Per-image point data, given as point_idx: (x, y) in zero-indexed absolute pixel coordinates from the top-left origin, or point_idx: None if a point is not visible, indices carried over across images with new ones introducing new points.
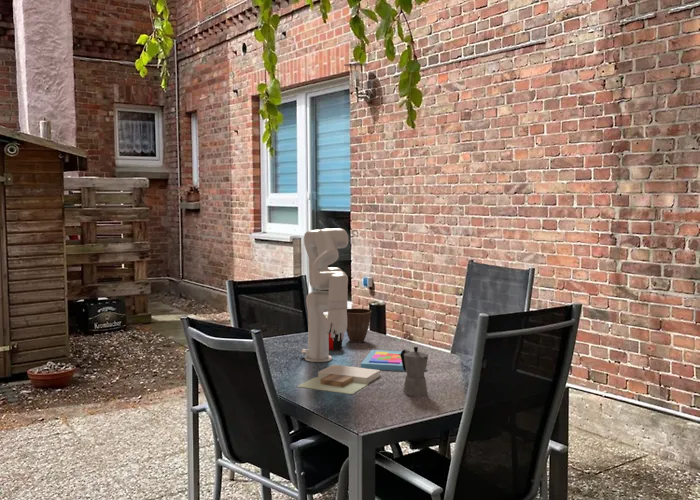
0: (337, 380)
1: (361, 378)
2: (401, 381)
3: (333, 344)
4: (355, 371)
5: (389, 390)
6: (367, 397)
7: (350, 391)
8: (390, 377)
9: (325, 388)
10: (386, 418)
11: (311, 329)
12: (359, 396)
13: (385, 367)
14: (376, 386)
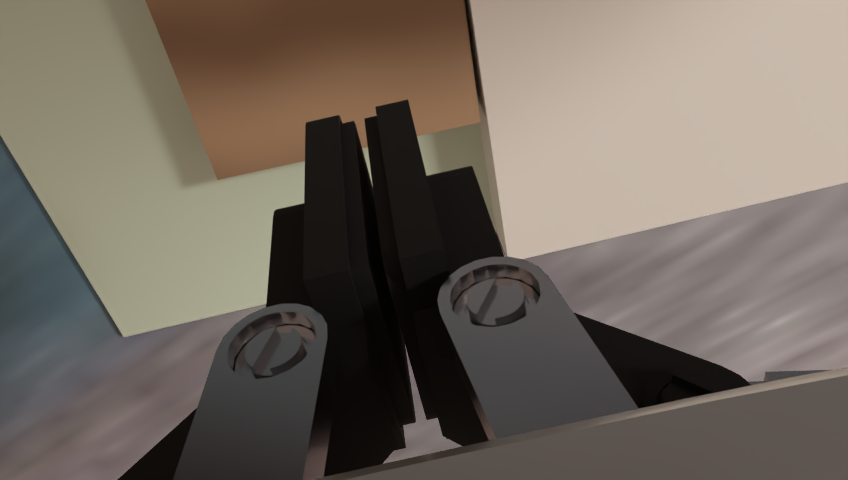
0: (221, 90)
1: (498, 205)
2: (713, 355)
3: (304, 202)
4: (708, 4)
5: (435, 428)
6: None
7: (162, 290)
8: (804, 238)
9: (12, 44)
10: None
11: None
12: (135, 392)
13: None
14: None
